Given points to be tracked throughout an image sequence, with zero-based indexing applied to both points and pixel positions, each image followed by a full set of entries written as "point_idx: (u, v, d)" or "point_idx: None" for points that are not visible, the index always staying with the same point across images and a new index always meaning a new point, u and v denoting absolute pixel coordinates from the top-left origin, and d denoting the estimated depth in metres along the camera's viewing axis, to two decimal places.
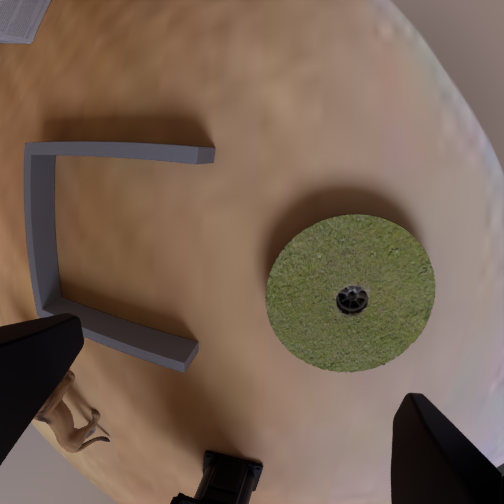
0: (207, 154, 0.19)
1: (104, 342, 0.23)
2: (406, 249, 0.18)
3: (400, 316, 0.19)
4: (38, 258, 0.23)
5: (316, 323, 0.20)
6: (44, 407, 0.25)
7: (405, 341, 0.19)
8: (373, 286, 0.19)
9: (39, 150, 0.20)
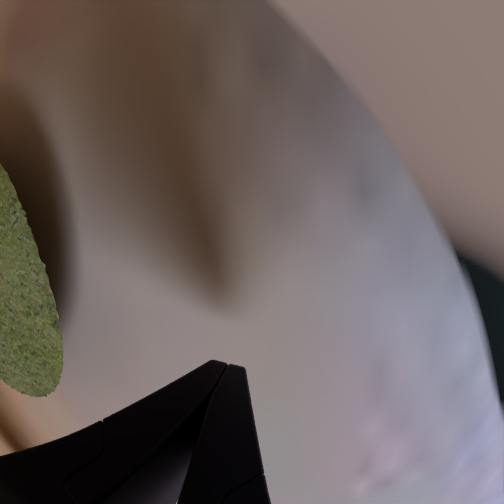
0: None
1: None
2: None
3: (20, 312, 0.09)
4: None
5: None
6: None
7: (49, 365, 0.09)
8: None
9: None
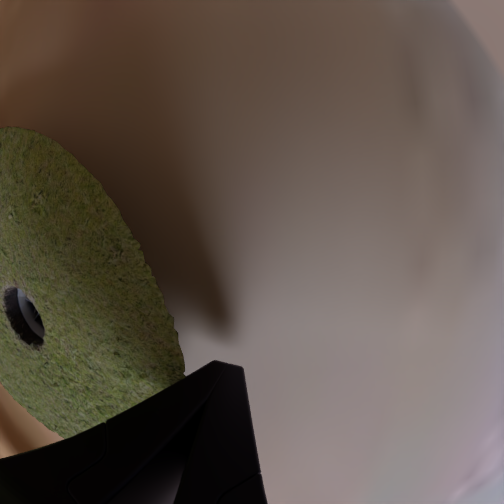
0: None
1: None
2: (59, 190, 0.06)
3: (110, 370, 0.07)
4: None
5: (3, 351, 0.08)
6: None
7: None
8: (34, 290, 0.07)
9: None
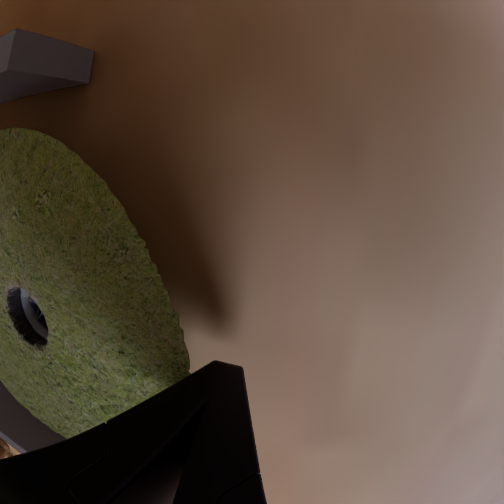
0: (59, 56, 0.05)
1: None
2: (64, 189, 0.06)
3: (114, 370, 0.07)
4: None
5: (6, 352, 0.08)
6: None
7: None
8: (38, 290, 0.07)
9: None
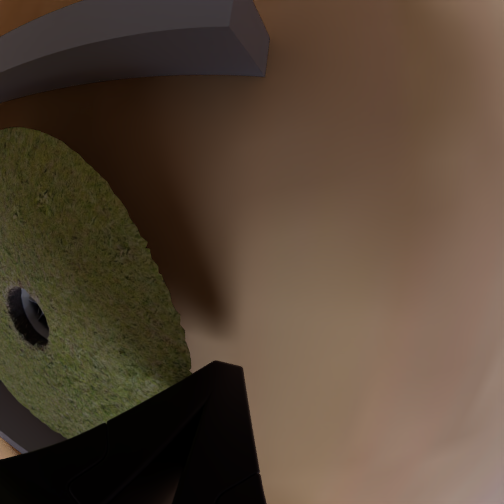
0: (256, 33, 0.05)
1: None
2: (65, 189, 0.06)
3: (115, 369, 0.07)
4: None
5: (6, 352, 0.08)
6: None
7: None
8: (39, 290, 0.07)
9: None
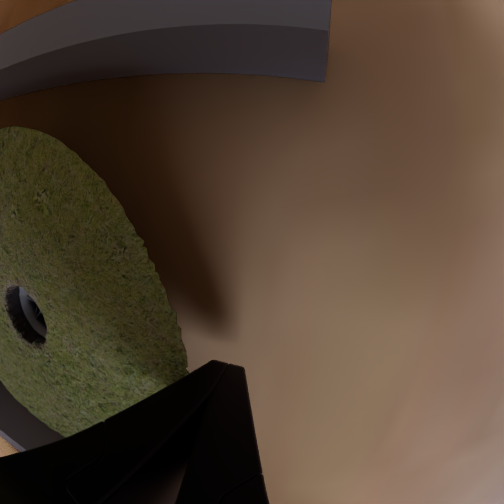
0: None
1: None
2: (62, 188, 0.06)
3: (112, 368, 0.07)
4: None
5: (5, 350, 0.08)
6: None
7: None
8: (37, 288, 0.07)
9: None
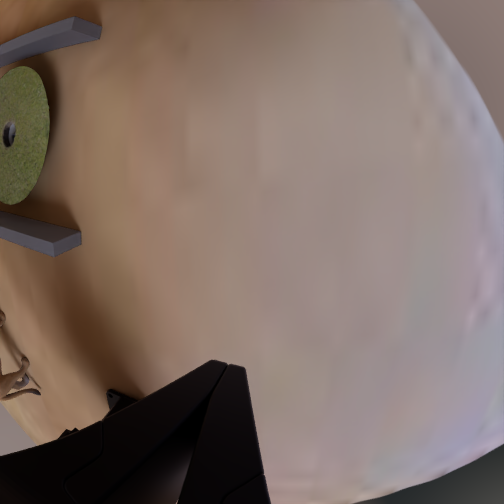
0: (88, 27, 0.15)
1: None
2: (29, 80, 0.16)
3: (31, 138, 0.17)
4: None
5: None
6: None
7: (37, 163, 0.18)
8: (16, 118, 0.17)
9: None
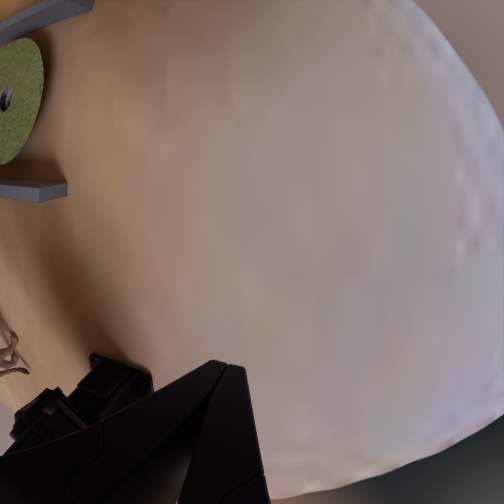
0: None
1: None
2: (27, 49, 0.16)
3: (26, 98, 0.17)
4: None
5: None
6: None
7: (30, 120, 0.18)
8: (13, 83, 0.17)
9: None
